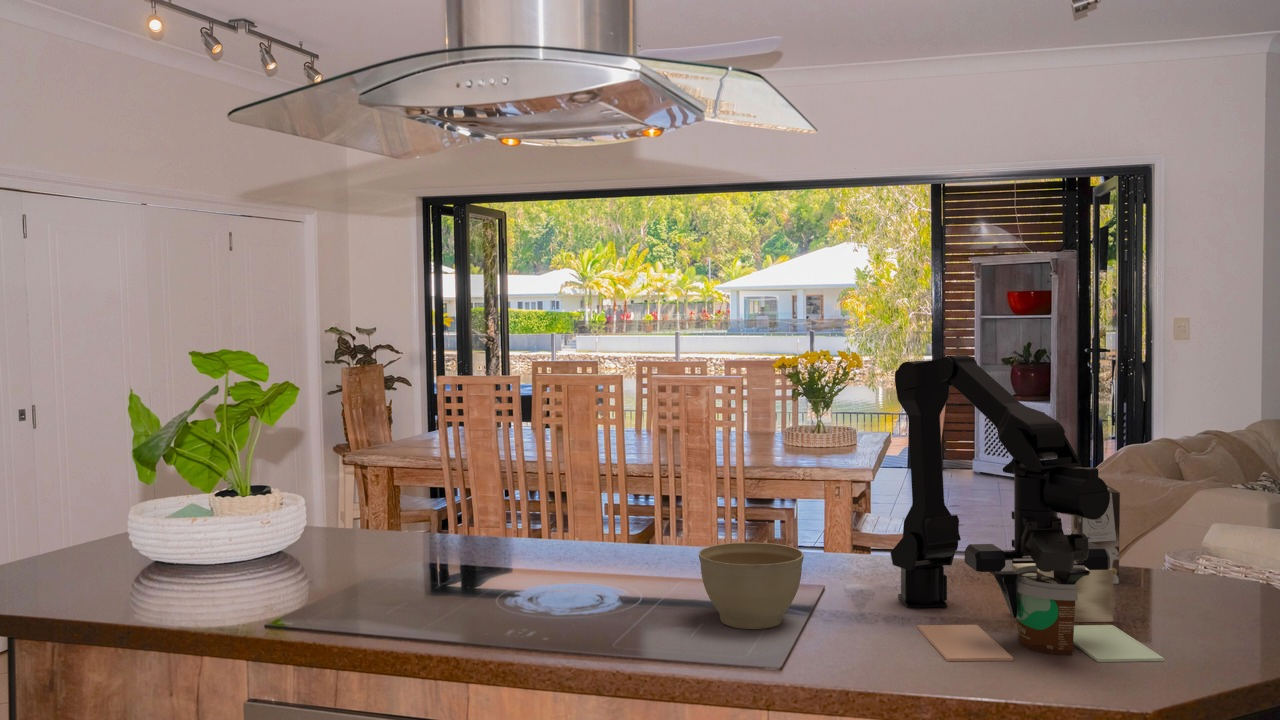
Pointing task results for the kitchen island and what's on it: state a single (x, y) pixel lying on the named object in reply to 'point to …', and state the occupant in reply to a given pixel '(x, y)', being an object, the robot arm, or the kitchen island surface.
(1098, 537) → the coffee box
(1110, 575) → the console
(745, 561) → the planter bowl
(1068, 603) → the food container
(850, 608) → the kitchen island surface
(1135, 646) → the sage bay
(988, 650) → the plate
